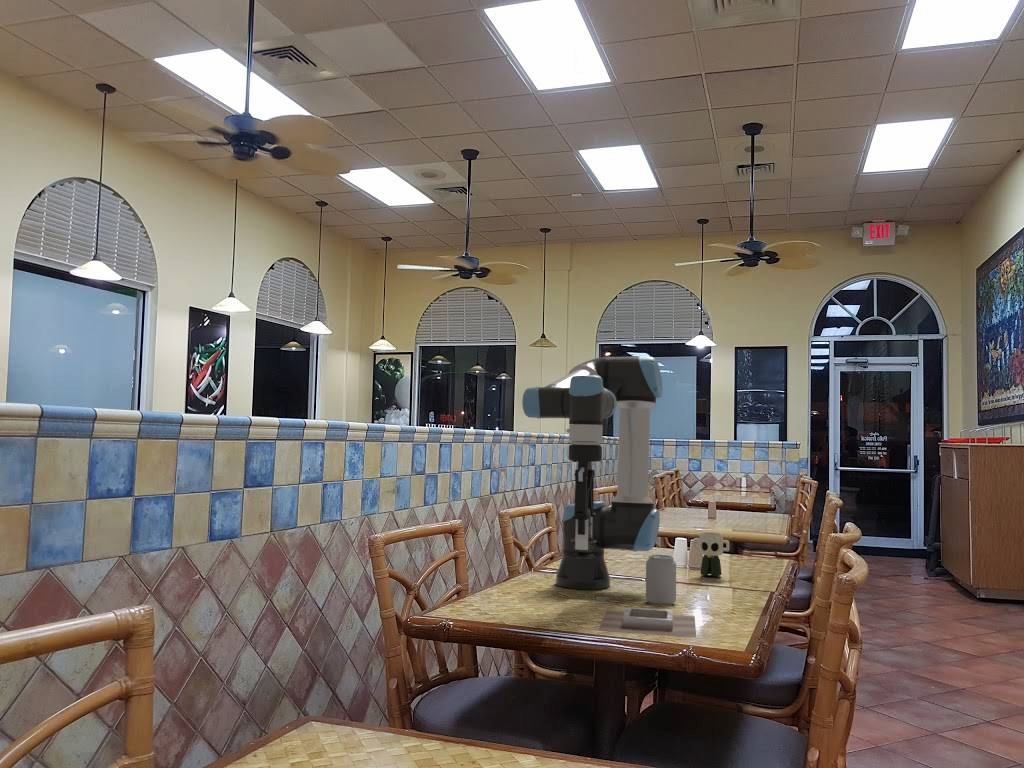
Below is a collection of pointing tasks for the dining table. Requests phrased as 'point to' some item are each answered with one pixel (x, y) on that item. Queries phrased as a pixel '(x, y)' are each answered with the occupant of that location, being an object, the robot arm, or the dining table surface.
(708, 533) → the character mug
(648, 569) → the can
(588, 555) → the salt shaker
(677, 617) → the walnut plate
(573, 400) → the robot arm
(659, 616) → the steel collar
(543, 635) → the dining table surface
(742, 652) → the dining table surface
